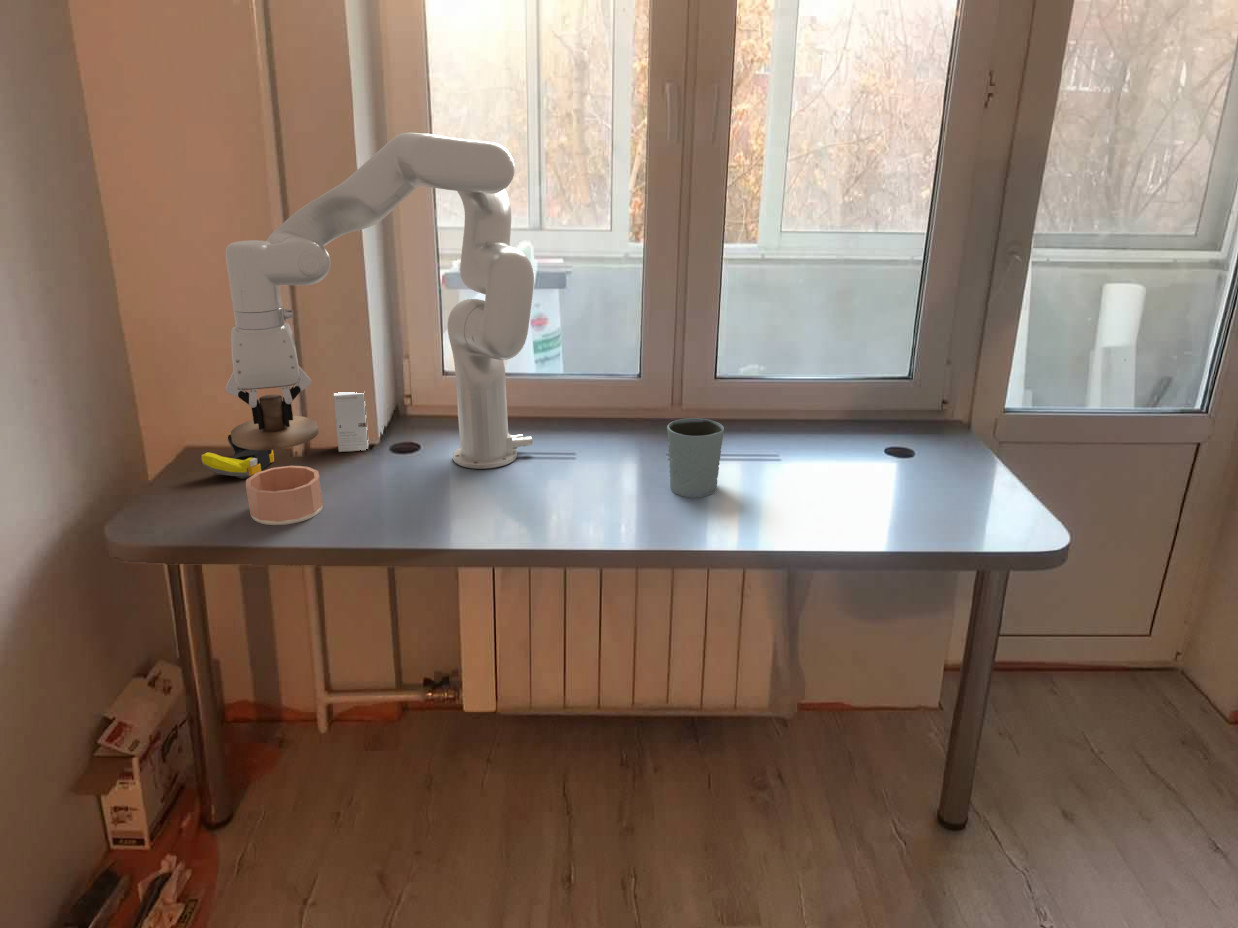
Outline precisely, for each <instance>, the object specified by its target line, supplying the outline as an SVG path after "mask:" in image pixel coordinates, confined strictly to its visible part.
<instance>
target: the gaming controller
mask: <svg viewBox="0 0 1238 928" xmlns="http://www.w3.org/2000/svg"><path fill="white" fill-rule="evenodd" d="M227 441H228V444H229V446H230V447H231V450H232V451H233V453H234V455H233V456H231V457H227V456H221V455H218V454H216V453H212V452H206V453H203V454H201V464H202V466H203V467H204V468H206V469H207V470H209V471H211V472H213V473H214V474H216V475H219V476H220V475H221V476H230V477H236V478H237V479H248V478H250V477H251V476H253V475H254V474H255V473H258V472H261V471H264V470H266V468H267V467H268V466H269V465H270V464H271V463H274V462H275V456H274V455H275V454H274V450H250V449H244V448H240V447H237V446H236V445H234V444H233V443H232V439H231V433H228V435H227Z"/></svg>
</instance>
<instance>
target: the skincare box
mask: <svg viewBox="0 0 1238 928" xmlns="http://www.w3.org/2000/svg"><path fill="white" fill-rule="evenodd" d="M364 393H365V392H364ZM364 393H357V392H356V393H355V392H338V393H334V392H333V396H332V397H333V405H334V416H335V426H336V427H335V428H336V437H337V447H338V448H337V449H338V452H339V453H341V452H344V453H345V452H356V451H357V452H358V451H360V450H361V451H367V450H366V449H368V450H369V443H368V441H369V439H368V440H367V430H368V426H367V427H366V418H367V414H366V415H365V406H366V400H365V401H364ZM361 451H360V452H361Z"/></svg>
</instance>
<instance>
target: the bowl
mask: <svg viewBox="0 0 1238 928" xmlns="http://www.w3.org/2000/svg"><path fill="white" fill-rule="evenodd" d="M320 481H321V480H320V474H319V470H317V469H314V468H312V467H309V466H304V465H303V466H301V465H287V466H277V467H271V468H268V469H264V470H263V471H261V472H258V473H255V474H254V475H252V476H250V477H248V478H246V480H245V490H246V496H247V503H248V508H249V514H250V517H251V519H252V520H253V521H255V522H256V523H258V524H261V525H267V526H286V525H293V524H298V523H301V522H305V521H307V520H309V519H312V518H313V517H316V516H317V515H318V514H320V513H321V512H322V511H323V509H324V507H323V506H324V504H323V496H322V490H321V489H322V486H321V482H320Z"/></svg>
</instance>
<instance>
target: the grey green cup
mask: <svg viewBox="0 0 1238 928" xmlns="http://www.w3.org/2000/svg"><path fill="white" fill-rule="evenodd" d="M666 428H667V429H666V430H667V442H668V457H669V458H668V459H669V466H668V467H669V487H670V490H671V492H672V493H674V494H676V495H678V496H681V497H686V498H703V497H708V496H711V495H713V494H715V492H716V490H717V488H718V477H719V470H720V467H719V466H720V464H721V463H720V461H721V453H722V450H721V449H722V445H723V439H724V433H725V428H724V426H723V425H722V423H719V422H717V421H714V420H712V419H707V418H690V417H689V418H682V419H676V420H674V421H671V422H669V423H668V424H667V426H666Z"/></svg>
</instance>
